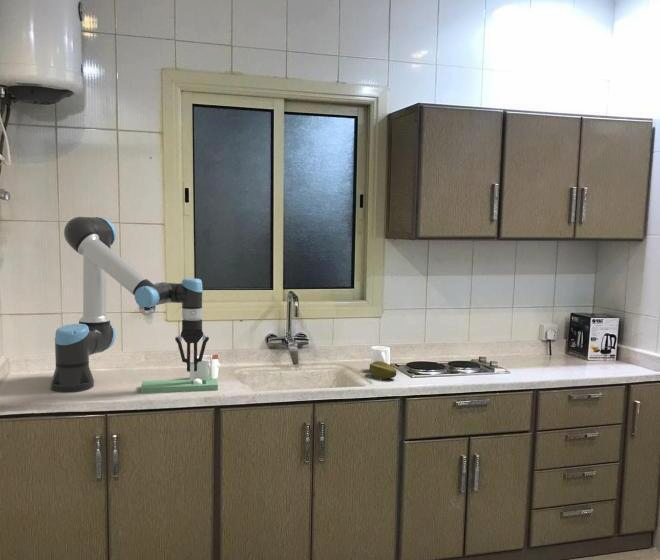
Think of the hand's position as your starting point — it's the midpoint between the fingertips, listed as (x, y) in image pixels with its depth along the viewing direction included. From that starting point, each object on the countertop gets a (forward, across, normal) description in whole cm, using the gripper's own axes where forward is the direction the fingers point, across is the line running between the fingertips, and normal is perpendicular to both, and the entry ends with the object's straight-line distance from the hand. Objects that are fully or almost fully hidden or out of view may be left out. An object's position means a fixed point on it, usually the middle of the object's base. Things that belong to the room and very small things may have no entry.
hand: (191, 379), depth 230 cm
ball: (+1, +2, 0) cm, 3 cm away
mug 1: (+4, +6, +11) cm, 13 cm away
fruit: (+4, +79, +4) cm, 79 cm away
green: (+3, -4, 0) cm, 6 cm away
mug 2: (+3, +82, +14) cm, 83 cm away
